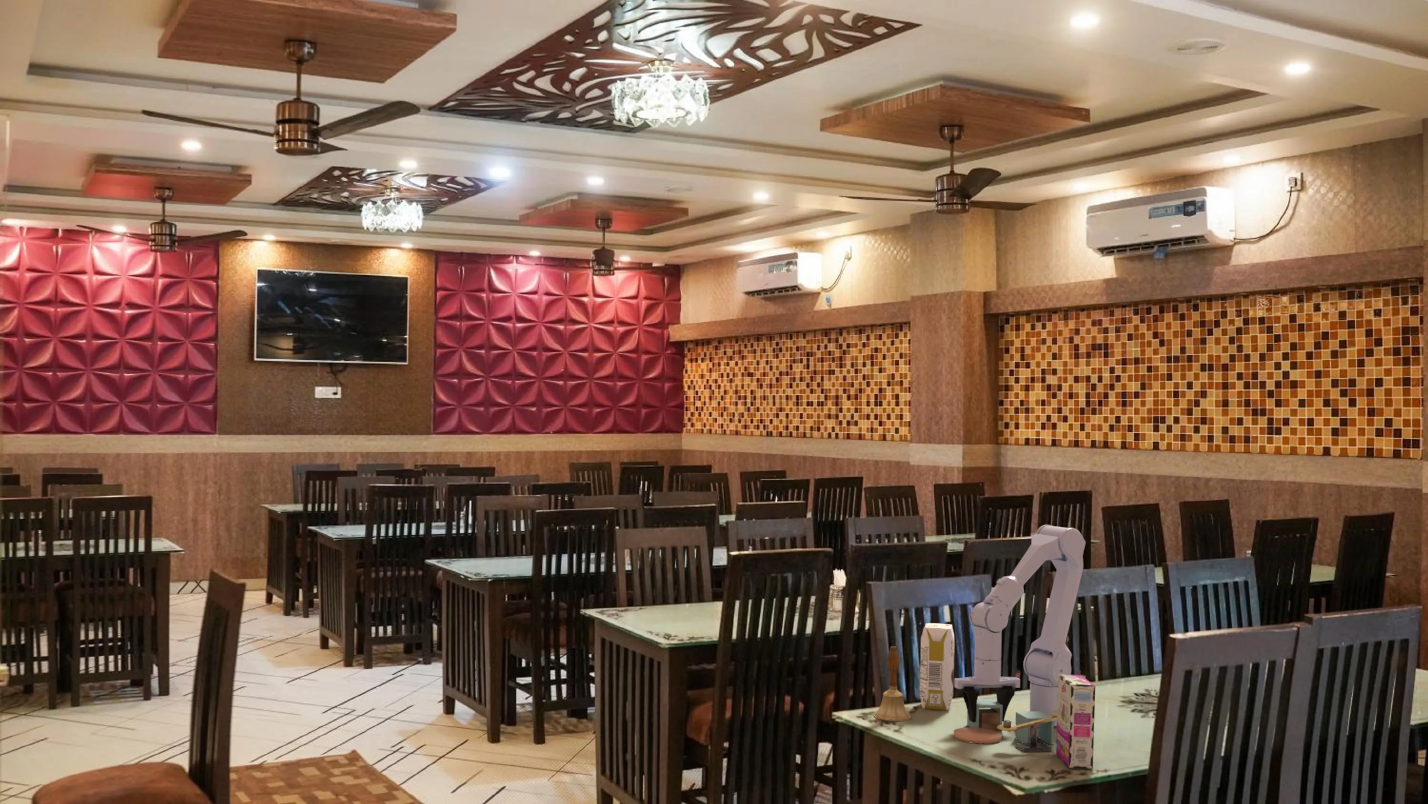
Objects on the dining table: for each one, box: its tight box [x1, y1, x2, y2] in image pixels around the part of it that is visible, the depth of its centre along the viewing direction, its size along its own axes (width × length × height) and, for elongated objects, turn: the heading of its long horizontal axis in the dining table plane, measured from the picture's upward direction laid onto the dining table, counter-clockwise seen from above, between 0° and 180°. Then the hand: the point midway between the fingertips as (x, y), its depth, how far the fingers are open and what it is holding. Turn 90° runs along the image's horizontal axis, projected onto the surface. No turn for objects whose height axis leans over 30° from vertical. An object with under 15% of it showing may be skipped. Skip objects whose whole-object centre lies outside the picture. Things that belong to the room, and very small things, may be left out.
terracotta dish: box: [953, 726, 1003, 745], centre depth 266 cm, size 10×10×1 cm
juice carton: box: [919, 622, 955, 711], centre depth 295 cm, size 8×9×19 cm
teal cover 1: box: [966, 698, 1003, 732], centre depth 275 cm, size 6×6×6 cm
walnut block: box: [979, 708, 1001, 732], centre depth 275 cm, size 4×4×4 cm
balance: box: [997, 711, 1057, 753], centre depth 258 cm, size 16×4×7 cm, turn 101°
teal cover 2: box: [1014, 711, 1055, 745], centre depth 265 cm, size 6×6×6 cm
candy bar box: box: [1055, 674, 1096, 770], centre depth 249 cm, size 11×5×16 cm, turn 178°
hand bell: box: [873, 645, 912, 722], centre depth 284 cm, size 8×8×16 cm
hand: (986, 720), depth 274 cm, fingers closed on teal cover 1, 6 cm apart
